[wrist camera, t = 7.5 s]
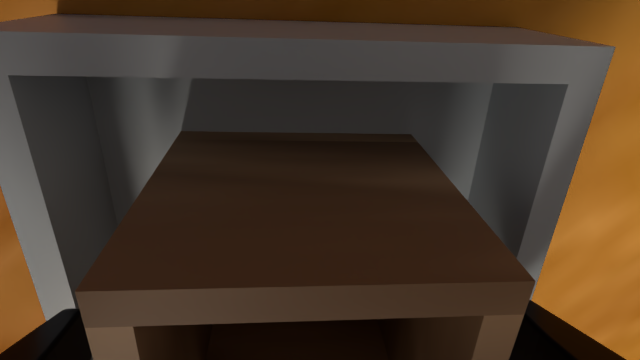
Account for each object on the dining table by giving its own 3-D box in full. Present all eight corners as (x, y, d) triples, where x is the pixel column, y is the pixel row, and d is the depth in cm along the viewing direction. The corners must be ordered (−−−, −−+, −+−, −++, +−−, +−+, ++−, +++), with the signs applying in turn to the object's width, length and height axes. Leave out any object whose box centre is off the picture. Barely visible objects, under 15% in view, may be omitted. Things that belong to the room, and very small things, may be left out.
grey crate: (444, 344, 16) (485, 436, 13) (134, 358, 15) (94, 462, 11) (517, 27, 11) (615, 47, 8) (55, 13, 10) (-53, 29, 7)
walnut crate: (385, 305, 14) (454, 518, 8) (200, 311, 13) (143, 544, 8) (411, 134, 11) (536, 281, 6) (180, 131, 10) (74, 291, 5)
